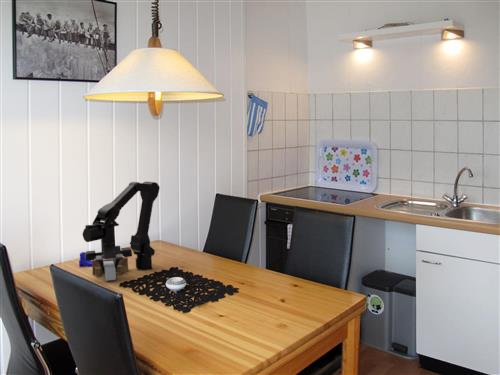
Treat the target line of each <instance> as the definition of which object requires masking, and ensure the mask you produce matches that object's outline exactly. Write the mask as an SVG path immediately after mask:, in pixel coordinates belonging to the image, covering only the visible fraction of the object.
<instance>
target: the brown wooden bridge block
mask: <svg viewBox="0 0 500 375" xmlns="http://www.w3.org/2000/svg"><path fill="white" fill-rule="evenodd" d="M128 259H129V257H124V256H123V259H121V260H120V261H119V263H118V266H117V270H116V276H117V275H118V276H119V275H123V272H129V260H128ZM91 261H92V267H91V268H92V275H95V278H98V277H99V278H100V277H102V276H101V275H104V273H103V270H102V268H101V266H100V264H99V262H96V261H95V259H94V260H91ZM104 261H113V262H114V263H115V258H114V259H112V258H111V259H103V264H104Z"/></svg>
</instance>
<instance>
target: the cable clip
mask: <svg viewBox="0 0 500 375" xmlns="http://www.w3.org/2000/svg"><path fill="white" fill-rule="evenodd" d="M85 253H86V251H82V252H80V253H79V260H78V266H79V268H92V260H89V261H87V260H86V256H85ZM102 259H104V256H103V257H102Z"/></svg>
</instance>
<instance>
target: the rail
mask: <svg viewBox="0 0 500 375" xmlns="http://www.w3.org/2000/svg"><path fill="white" fill-rule="evenodd" d="M104 269H105V274H103V275H104V278H105V282H107V281H115V280H116V279H117V272H116V271H115V265H114V262H113V261H104Z"/></svg>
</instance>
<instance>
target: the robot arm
mask: <svg viewBox="0 0 500 375" xmlns="http://www.w3.org/2000/svg"><path fill="white" fill-rule="evenodd" d="M160 189H161V188H160V185H159V184H158V183H157V182H154V181H143V182H140V181H139V182H138V181H130V182H129V183H128V185H127V186H126V187H125V189H123V190H122V191H121V193H119V194H117V196H116V197H115V198H114V199H113V200H112V201H111V202H109V203H106V204H105V205H103V206H102V207H100V208H99V209H98V210H97V214H96V216H95V218H94V220H93V221H92V222H91V223H92V224H86V225H85V226H84V229H83V231H82V238H83V240H84V242H86V243H90V242H94V241H99V240H100V247H101V248H100V249H101V251H98V252H96V249H95V250H86V251H85V256H86V260H87V261H89V260H91V261H92V260H95V261H96V262H99V264H100V266H101V268H102V270H103V273H104V274H105V269H104V264H103V259H102V257H103V256H104V259H111V258H112V259H114V258H115V263H114V265H115V271H116V270H117V266H118V263H119V261H120V260H121V259H123V257H127V258H129V257H133V254H134V255H135V256H136V257H135V268H136V269H137V271H144V270H153V269H154V268H153V266H152V265H153V264H152V263H153V262H152V260H153V259H152V256H155V252H156V250H155V249H154V248H153V247H152V246H151V238H150V236H149V231H150V230H149V229H150V223H151V217H152V212H153V206H154V202H155V201H156V199H157V198H158V196H159V192H160ZM138 192H139V195H140V198H141V205H140V211H139V218H138V224H137V230H136V232H135V234H134V235H131V236H130V242H129V245H130V247H121V246H120V245H116V229H115V227H118V226H120V224H119V223H118V222H117V221H116V220H117V218H118V217H119V215H120V213H121V210H122V208H124V207H125V205H127V204H128V203H129V201H131V199H132V198H133V197H134V196H135V195H136V194H137V193H138ZM104 274H103V275H104Z"/></svg>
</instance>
